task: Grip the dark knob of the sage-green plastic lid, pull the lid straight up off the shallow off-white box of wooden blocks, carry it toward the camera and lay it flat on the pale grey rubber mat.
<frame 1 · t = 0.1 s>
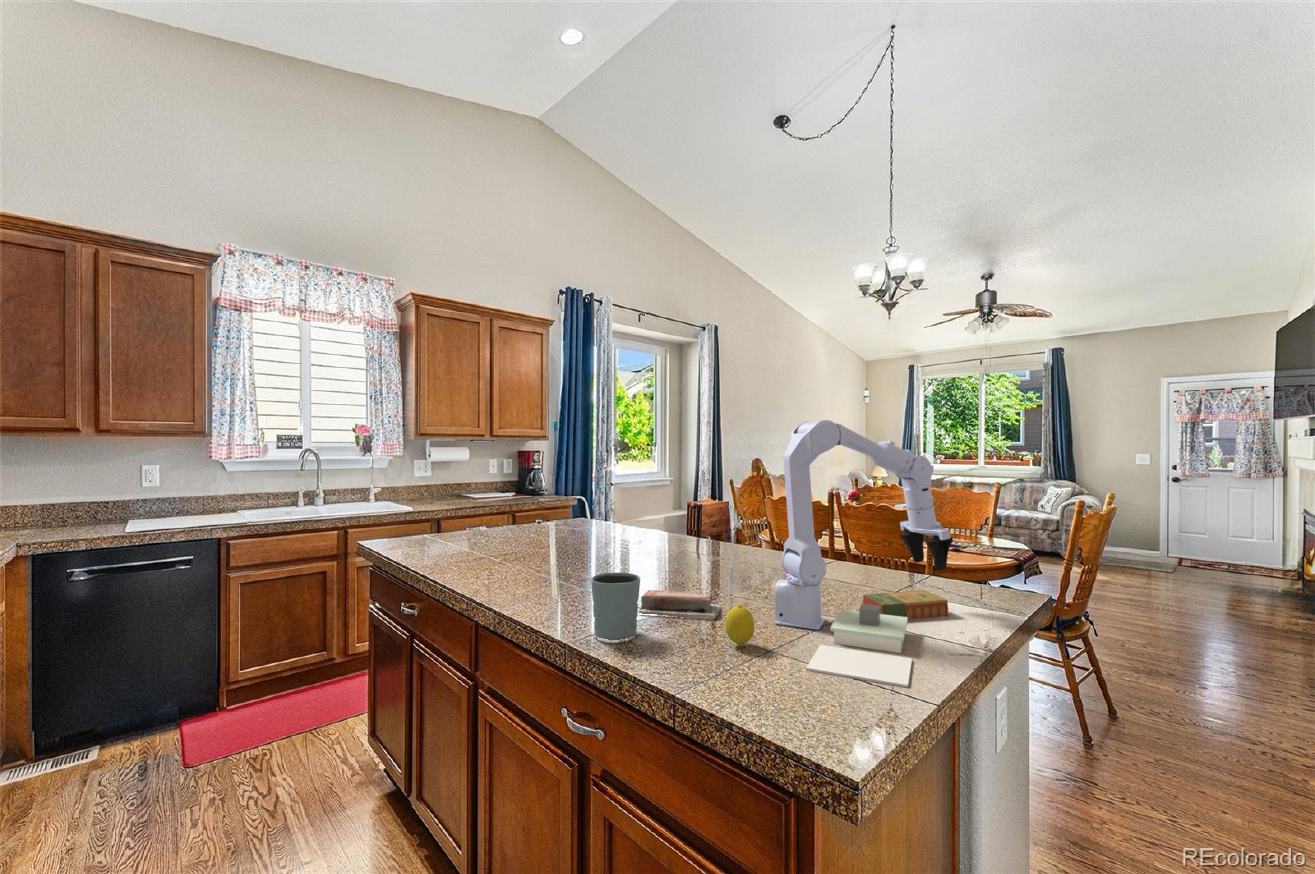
hand: (929, 565, 127), 11 cm above the counter, tool pointing down, fingers open, 7 cm apart
lid: (870, 628, 110), point 2 cm above the counter, touching box
lemon: (740, 647, 107), on the counter
carton: (904, 615, 126), on the counter
box: (870, 637, 110), on the counter
packaged product: (680, 614, 130), on the counter
mat: (860, 665, 97), on the counter
grey-green cup: (616, 636, 114), on the counter
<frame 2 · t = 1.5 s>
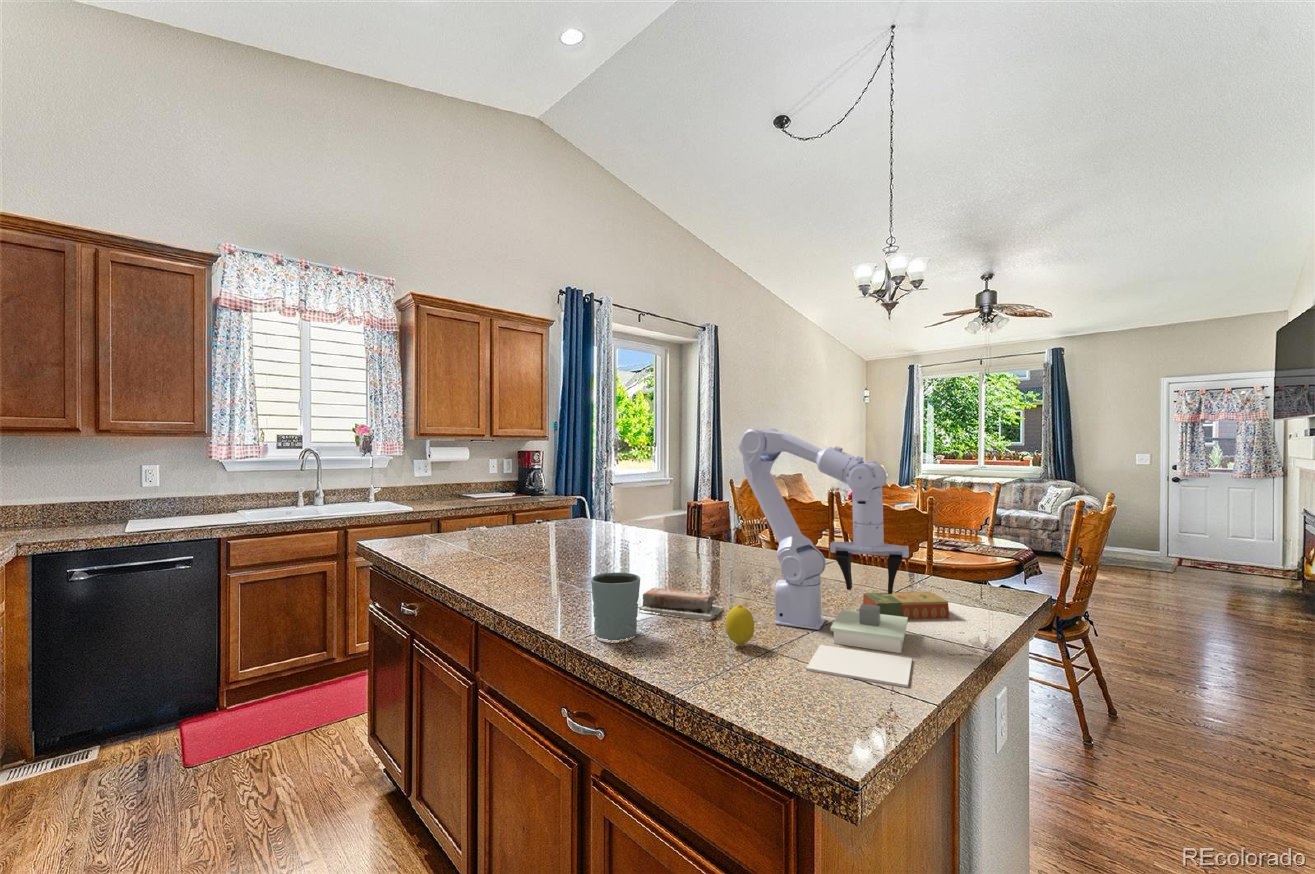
hand: (869, 590, 110), 9 cm above the counter, tool pointing down, fingers open, 7 cm apart
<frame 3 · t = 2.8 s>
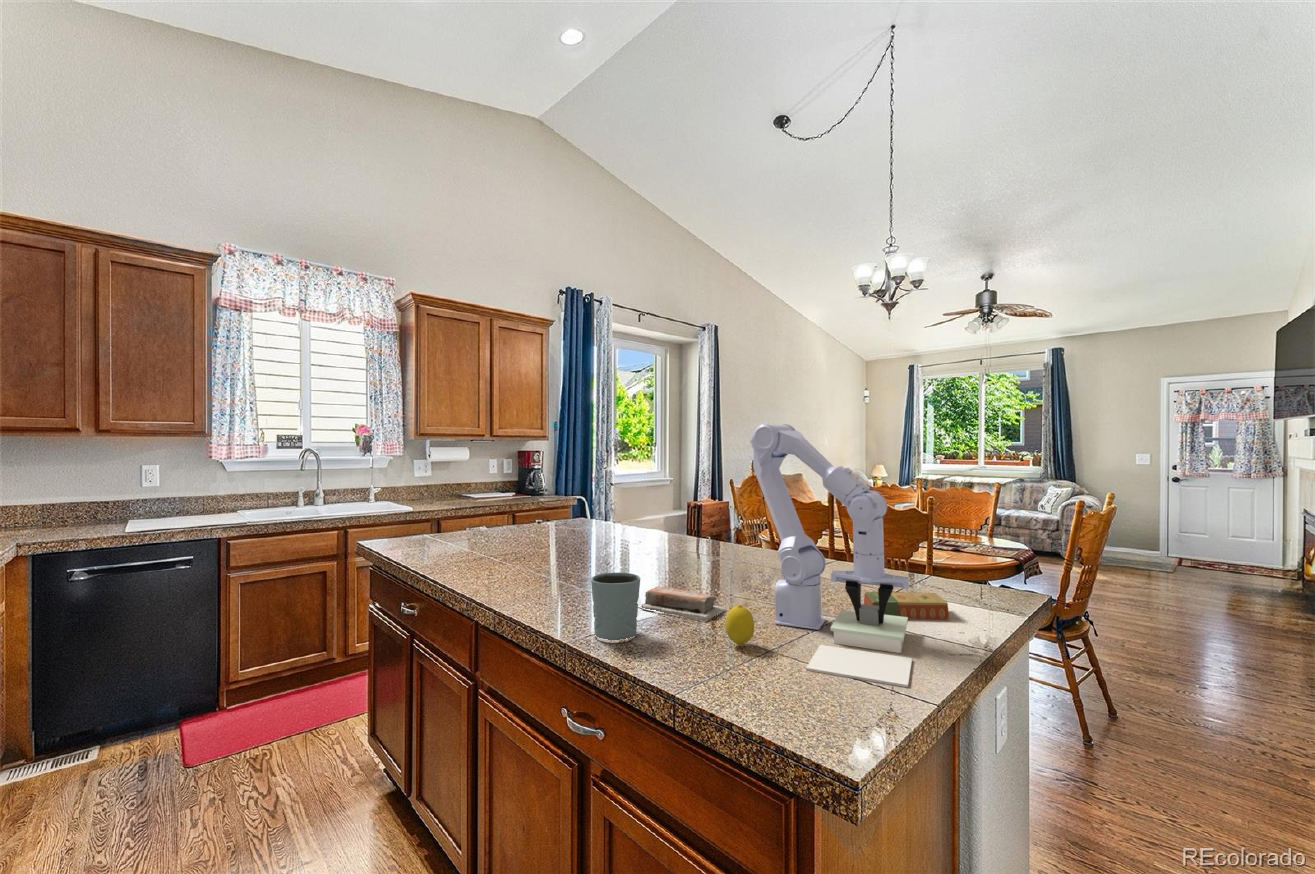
hand: (870, 620, 110), 3 cm above the counter, tool pointing down, fingers closed on lid, 3 cm apart
lid: (870, 628, 110), point 2 cm above the counter, touching box, gripper
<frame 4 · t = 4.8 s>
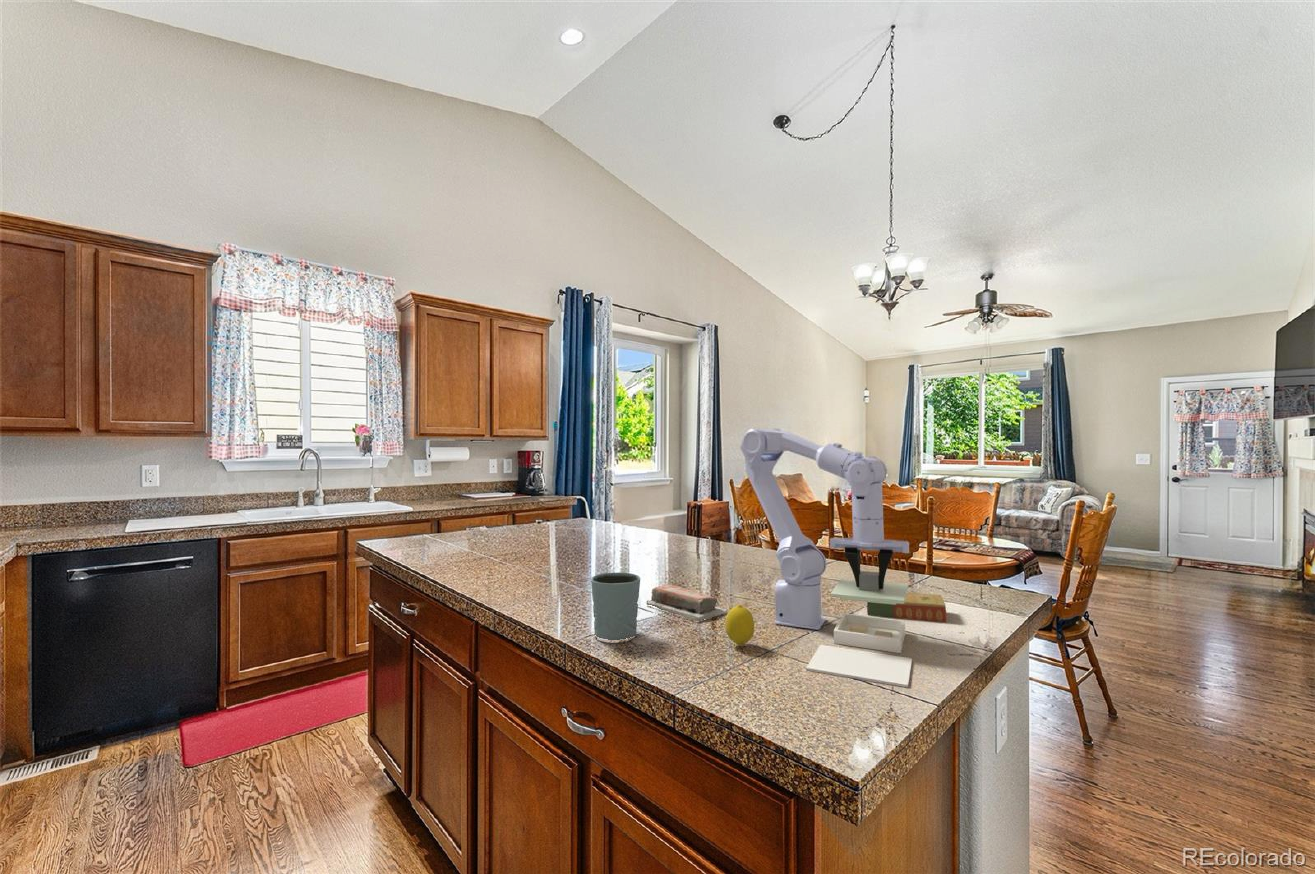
hand: (869, 587, 109), 10 cm above the counter, tool pointing down, fingers closed on lid, 3 cm apart
lid: (870, 595, 109), point 9 cm above the counter, touching gripper
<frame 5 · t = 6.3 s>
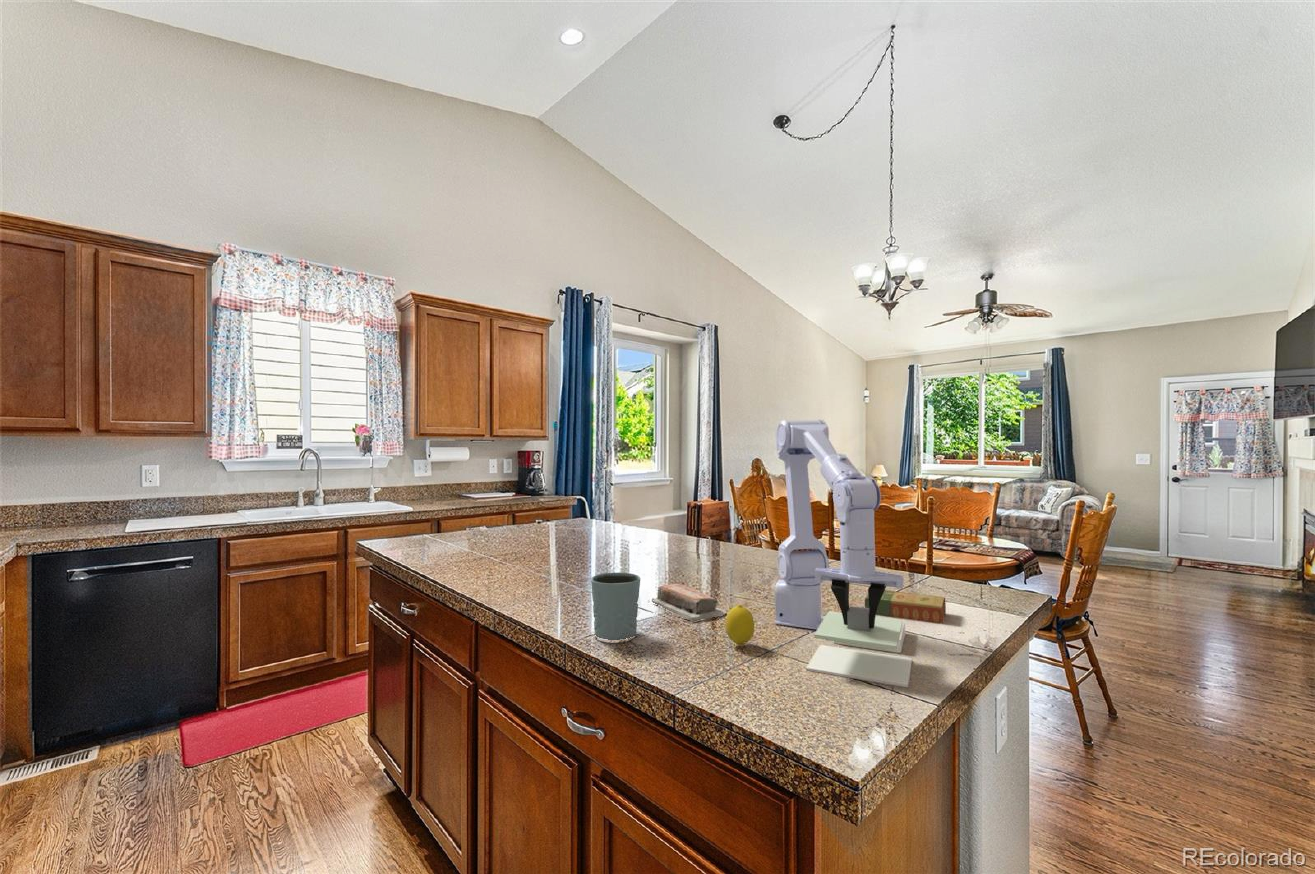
hand: (859, 624, 97), 7 cm above the counter, tool pointing down, fingers closed on lid, 3 cm apart
lid: (859, 634, 97), point 5 cm above the counter, touching gripper
when the fingers open (4 cm above the counter, at t = 7.2 s): lid drops 2 cm, resting on mat.
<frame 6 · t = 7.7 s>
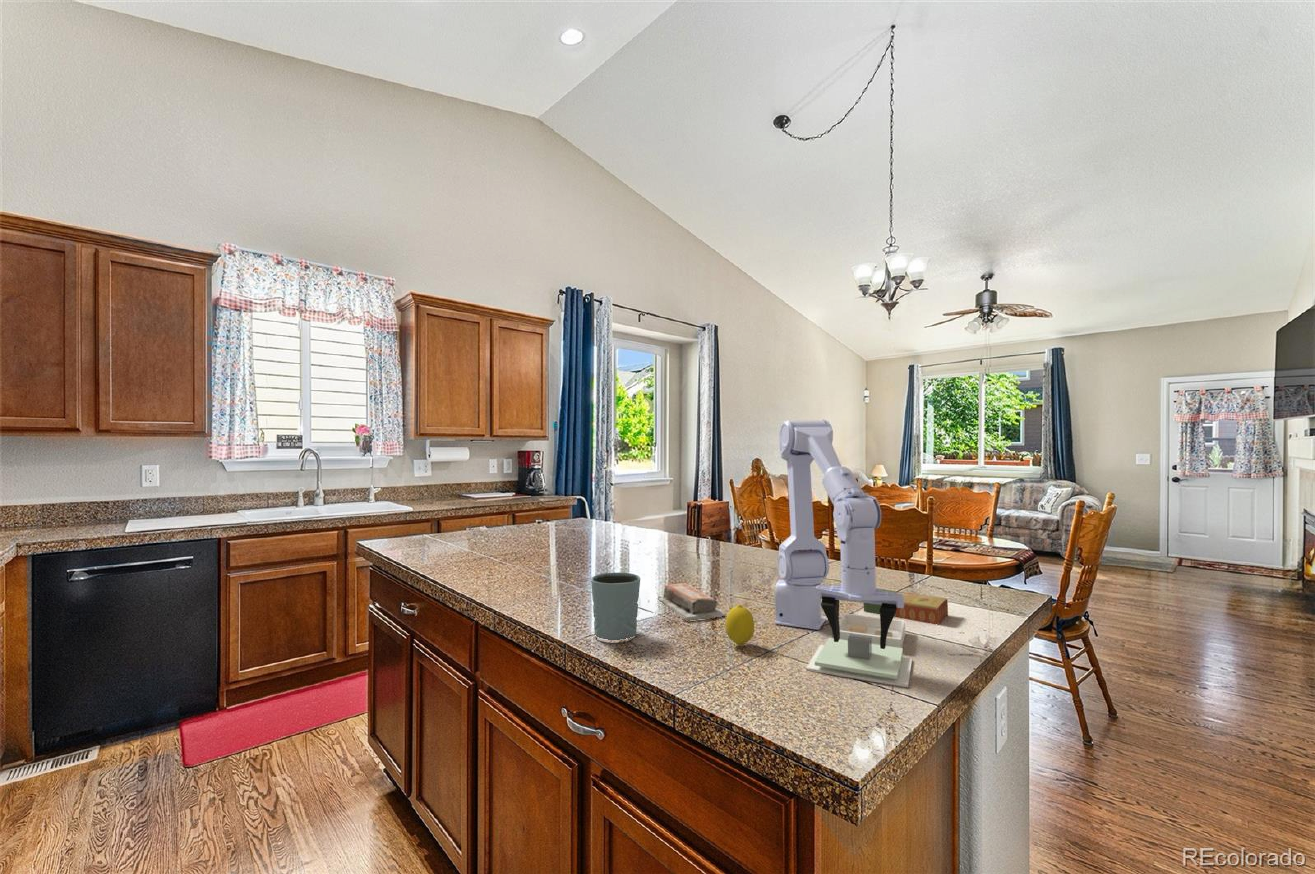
hand: (859, 643, 97), 4 cm above the counter, tool pointing down, fingers open, 7 cm apart
lid: (860, 662, 97), resting on mat
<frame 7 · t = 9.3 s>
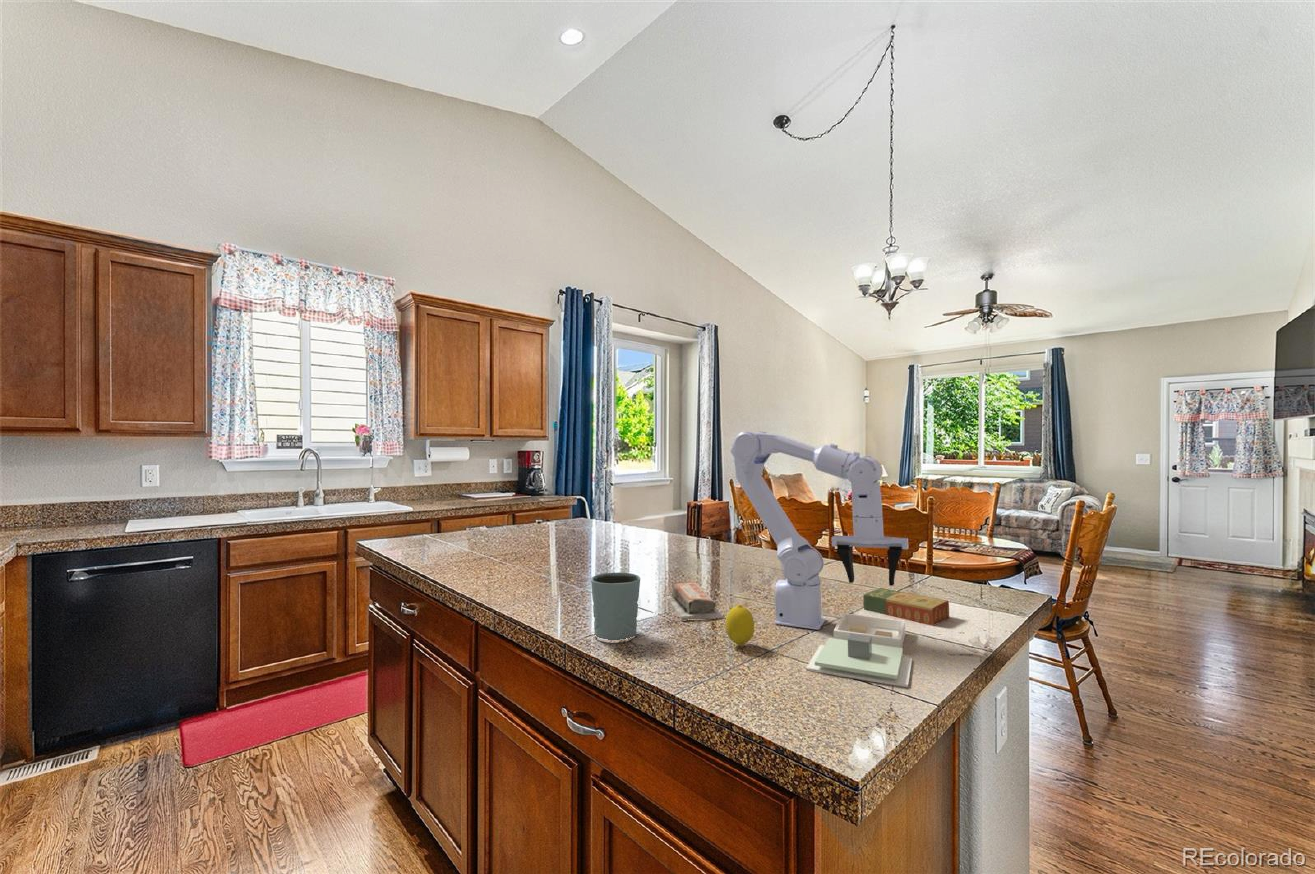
hand: (871, 583, 112), 10 cm above the counter, tool pointing down, fingers open, 7 cm apart
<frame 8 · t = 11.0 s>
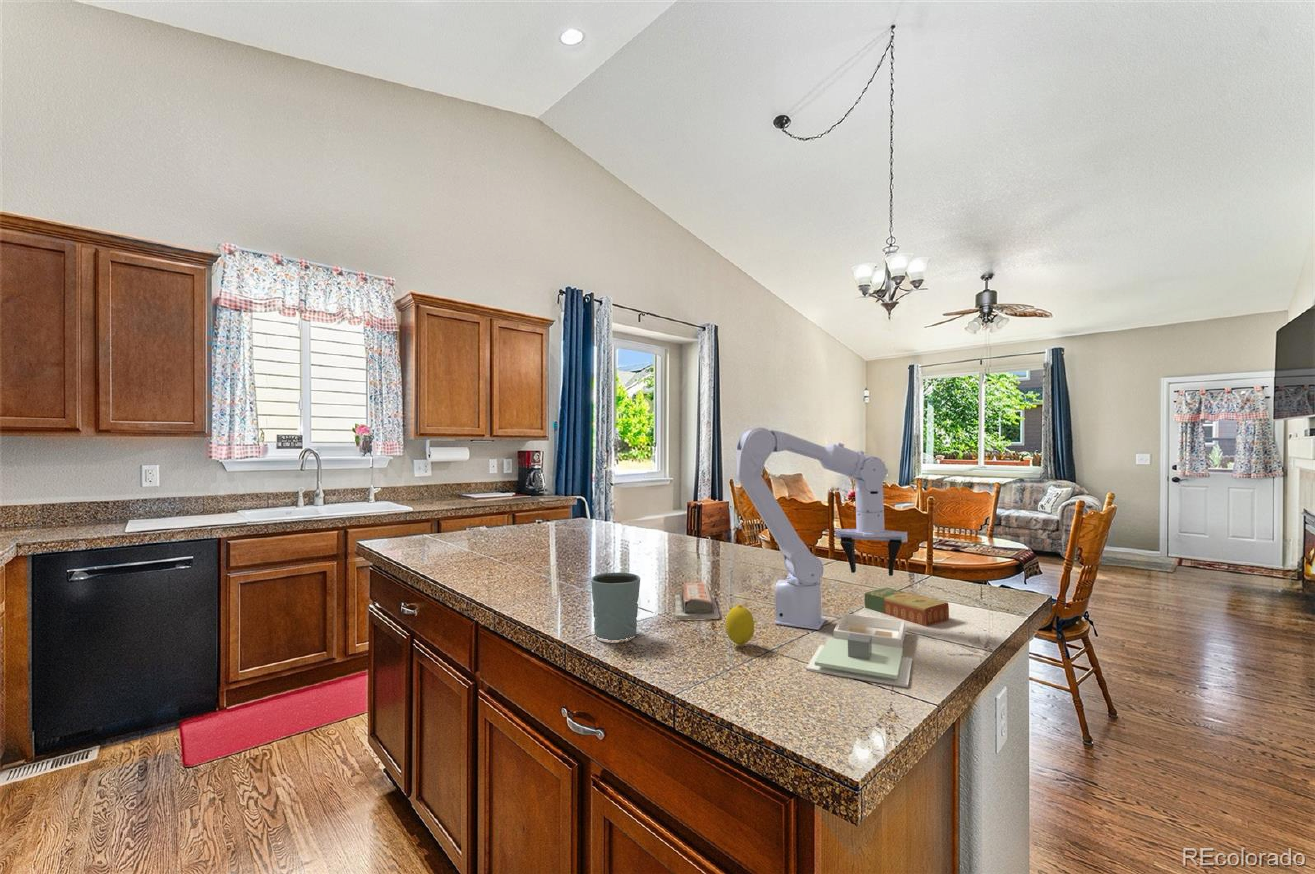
hand: (871, 573, 120), 10 cm above the counter, tool pointing down, fingers open, 7 cm apart
at the end: lid inside the target area on the mat (0.4 cm from its centre), point 0.4 cm above the mat's base; lid tilted 0°; lid touching mat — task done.
